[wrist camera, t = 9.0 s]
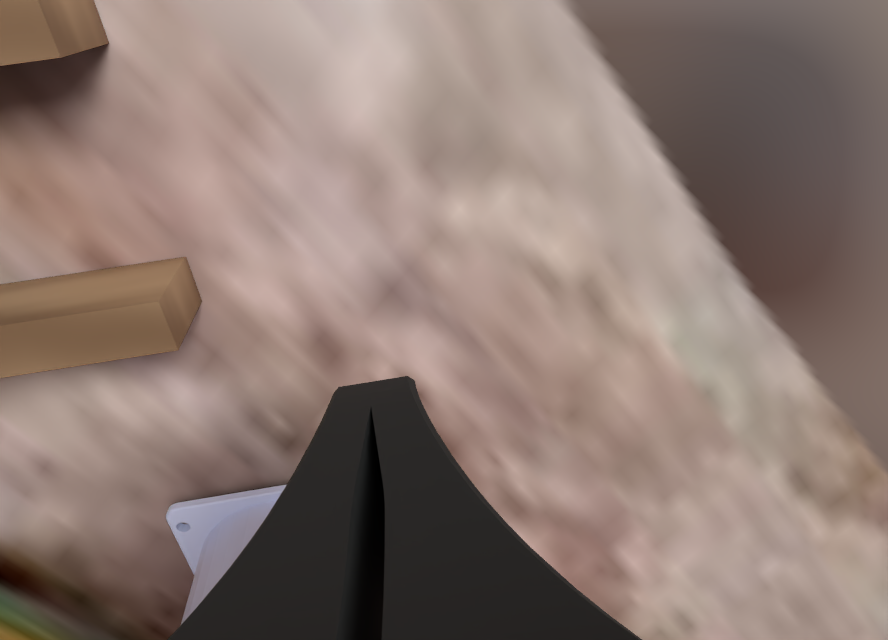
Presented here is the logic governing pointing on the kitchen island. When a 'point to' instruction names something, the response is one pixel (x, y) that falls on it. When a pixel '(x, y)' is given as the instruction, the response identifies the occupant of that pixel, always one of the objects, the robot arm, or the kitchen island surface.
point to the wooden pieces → (94, 292)
